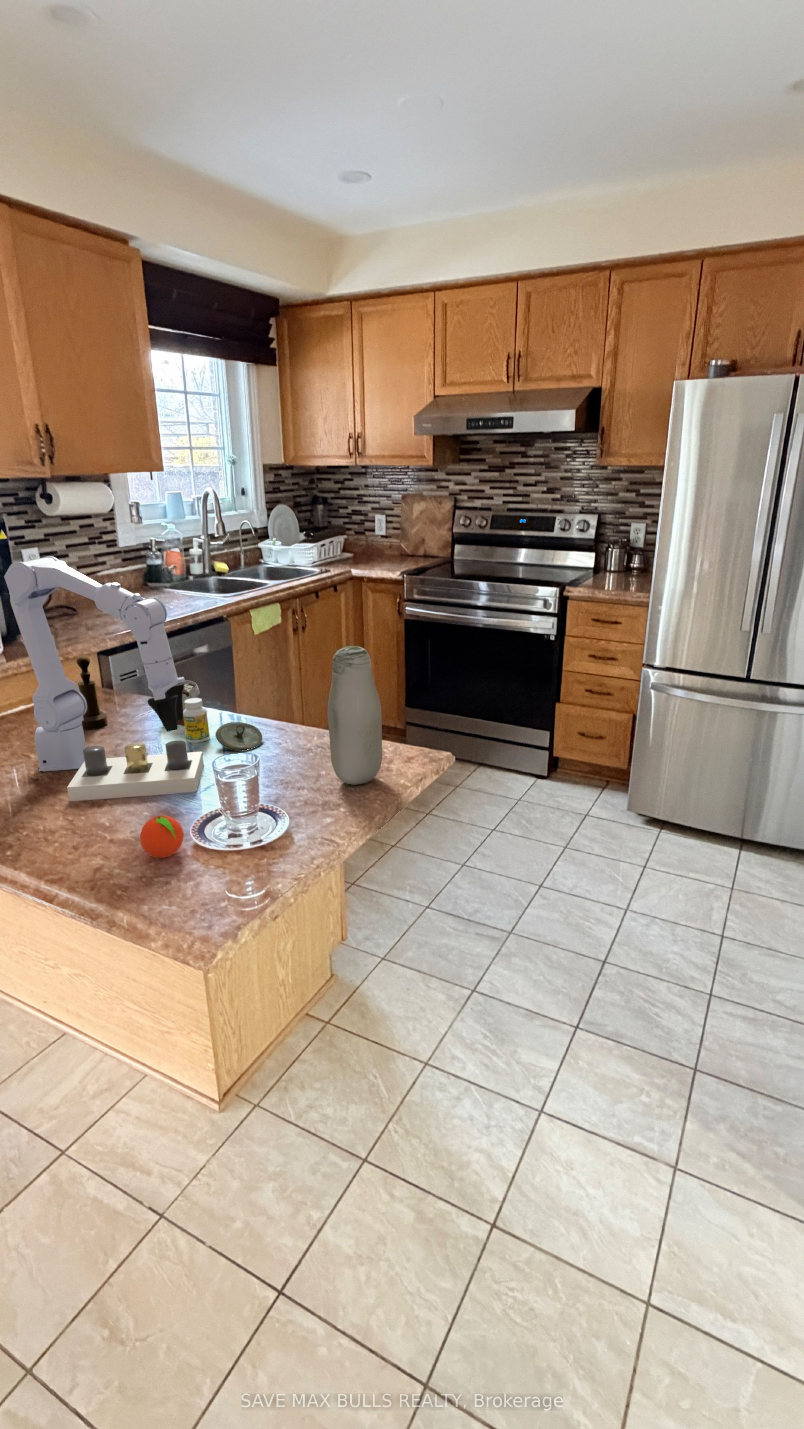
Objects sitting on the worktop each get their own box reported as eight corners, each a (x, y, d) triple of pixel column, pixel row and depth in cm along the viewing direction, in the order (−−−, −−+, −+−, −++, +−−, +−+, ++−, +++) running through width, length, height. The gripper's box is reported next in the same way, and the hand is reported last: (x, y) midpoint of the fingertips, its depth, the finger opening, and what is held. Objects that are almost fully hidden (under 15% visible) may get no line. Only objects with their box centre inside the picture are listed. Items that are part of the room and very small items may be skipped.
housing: (69, 801, 146) (67, 787, 145) (87, 772, 159) (85, 759, 158) (196, 791, 149) (194, 777, 148) (203, 764, 162) (202, 751, 161)
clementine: (197, 855, 125) (193, 817, 123) (160, 872, 120) (154, 833, 118) (171, 840, 130) (166, 803, 128) (134, 856, 125) (128, 818, 123)
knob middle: (126, 774, 151) (122, 751, 149) (130, 766, 155) (126, 743, 153) (146, 772, 151) (143, 749, 150) (150, 764, 155) (146, 742, 154)
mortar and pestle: (81, 722, 189) (69, 653, 184) (108, 719, 191) (97, 650, 185) (78, 731, 183) (66, 659, 178) (107, 728, 185) (95, 657, 179)
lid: (246, 733, 180) (245, 713, 178) (271, 743, 173) (270, 722, 172) (208, 745, 173) (206, 725, 171) (233, 756, 166) (231, 735, 165)
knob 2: (167, 771, 152) (163, 748, 150) (170, 763, 156) (167, 741, 154) (187, 769, 152) (184, 746, 151) (189, 762, 156) (187, 739, 155)
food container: (213, 722, 188) (209, 683, 185) (195, 729, 183) (190, 690, 180) (179, 714, 194) (174, 676, 191) (160, 721, 189) (155, 683, 186)
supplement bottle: (210, 734, 180) (206, 696, 176) (208, 742, 174) (204, 703, 171) (187, 735, 179) (183, 697, 176) (184, 744, 174) (179, 704, 171)
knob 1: (84, 777, 150) (80, 753, 148) (89, 769, 154) (85, 746, 152) (105, 775, 150) (101, 752, 149) (109, 767, 154) (106, 745, 153)
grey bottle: (350, 768, 159) (344, 638, 149) (391, 777, 154) (388, 644, 144) (322, 785, 151) (314, 649, 141) (365, 796, 146) (359, 656, 136)
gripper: (172, 663, 142) (190, 731, 146) (183, 649, 156) (199, 711, 160) (134, 670, 142) (153, 738, 145) (149, 656, 155) (166, 718, 159)
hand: (175, 724), depth 153 cm, fingers open, 7 cm apart
